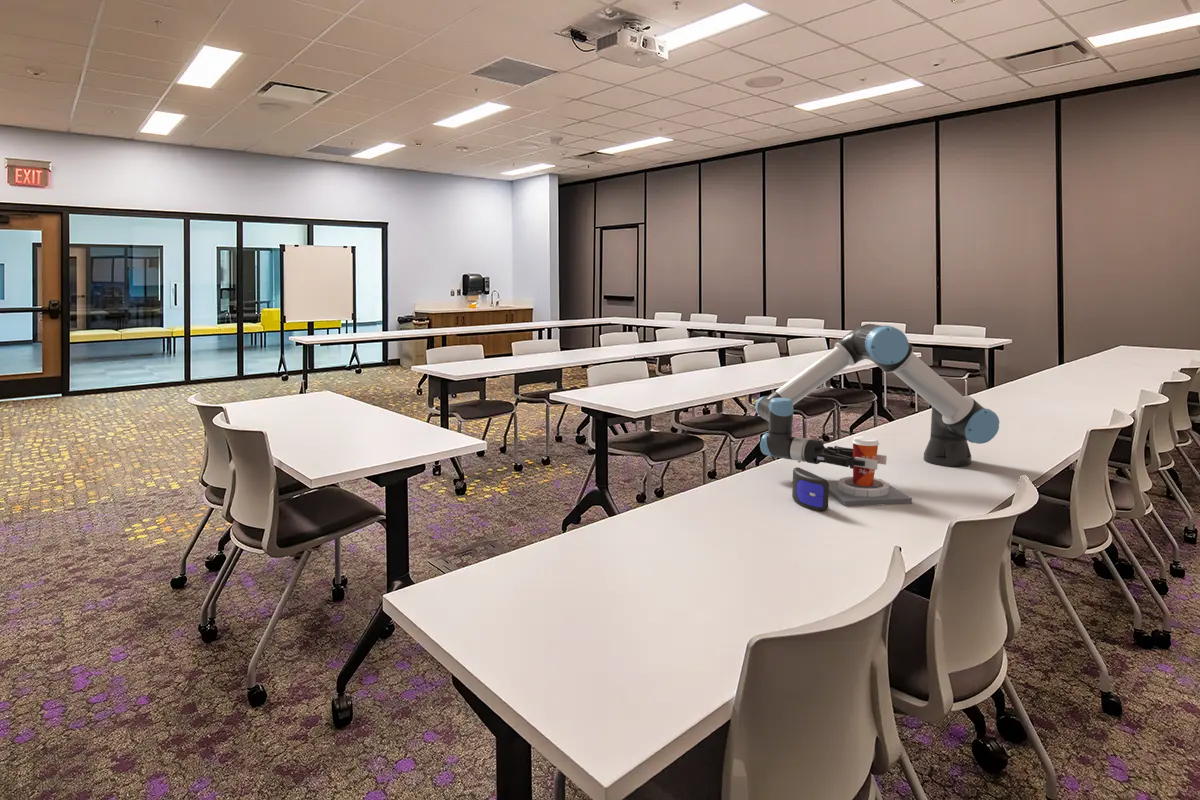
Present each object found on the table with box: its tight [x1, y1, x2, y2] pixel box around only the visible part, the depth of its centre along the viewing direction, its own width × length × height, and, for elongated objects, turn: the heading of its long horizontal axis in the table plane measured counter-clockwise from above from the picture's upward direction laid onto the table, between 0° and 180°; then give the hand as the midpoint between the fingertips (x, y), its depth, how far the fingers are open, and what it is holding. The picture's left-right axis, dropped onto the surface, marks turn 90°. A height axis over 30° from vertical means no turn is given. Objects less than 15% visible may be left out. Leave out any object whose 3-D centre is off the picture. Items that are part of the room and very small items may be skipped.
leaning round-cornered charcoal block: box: [791, 467, 830, 512], centre depth 201 cm, size 16×5×9 cm, turn 17°
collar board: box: [827, 476, 913, 507], centre depth 210 cm, size 20×20×4 cm
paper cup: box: [851, 435, 880, 486], centre depth 209 cm, size 8×8×14 cm
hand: (881, 462), depth 205 cm, fingers closed on paper cup, 6 cm apart
